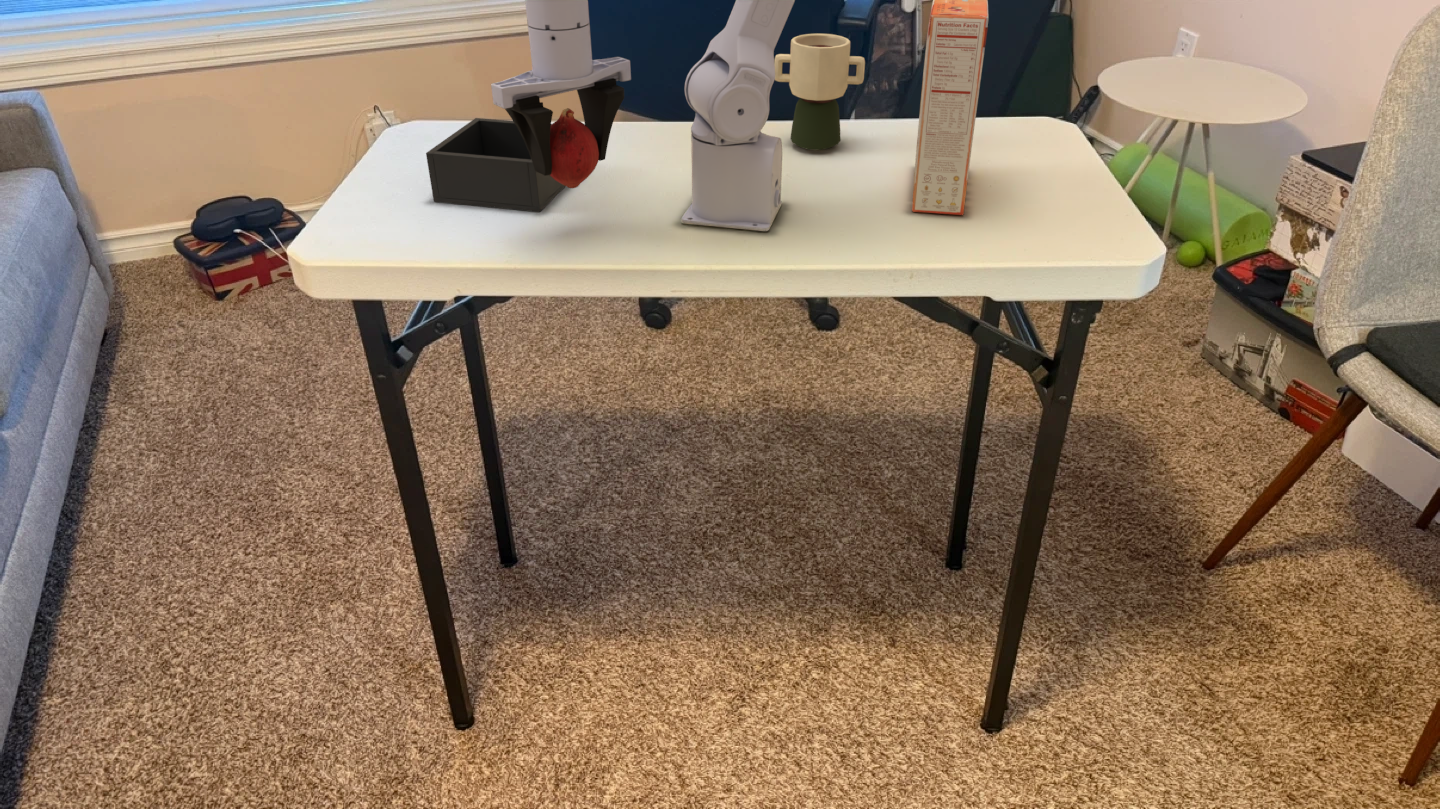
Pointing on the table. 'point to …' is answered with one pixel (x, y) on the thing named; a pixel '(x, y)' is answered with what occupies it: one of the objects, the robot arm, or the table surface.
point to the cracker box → (949, 104)
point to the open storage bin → (488, 169)
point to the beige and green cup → (818, 86)
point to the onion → (572, 150)
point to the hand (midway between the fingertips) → (570, 164)
